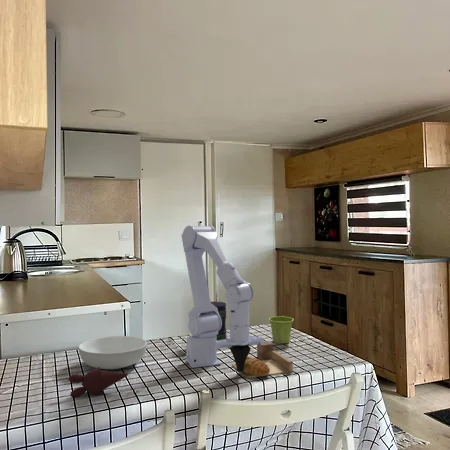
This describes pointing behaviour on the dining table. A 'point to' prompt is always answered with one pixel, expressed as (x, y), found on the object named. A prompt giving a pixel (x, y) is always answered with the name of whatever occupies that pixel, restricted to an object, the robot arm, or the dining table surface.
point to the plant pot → (281, 328)
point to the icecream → (95, 381)
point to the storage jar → (222, 312)
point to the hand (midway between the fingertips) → (239, 370)
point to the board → (274, 365)
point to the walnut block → (265, 351)
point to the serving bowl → (112, 351)
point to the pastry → (255, 367)
